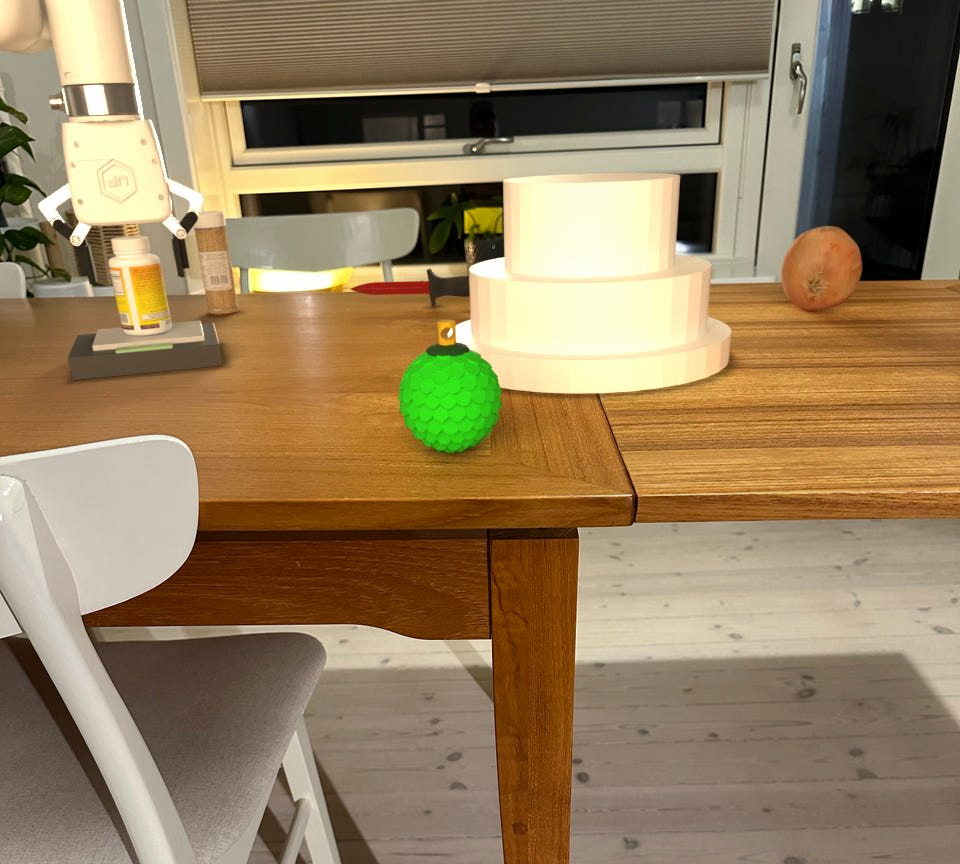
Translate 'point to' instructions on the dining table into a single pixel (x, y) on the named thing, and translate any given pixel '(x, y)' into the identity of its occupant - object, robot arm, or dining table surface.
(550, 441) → the dining table surface
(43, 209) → the robot arm
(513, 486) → the dining table surface
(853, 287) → the onion
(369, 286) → the knife
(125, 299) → the supplement bottle
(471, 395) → the ornament
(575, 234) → the cake
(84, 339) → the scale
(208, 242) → the sprinkles bottle
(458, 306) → the dining table surface
